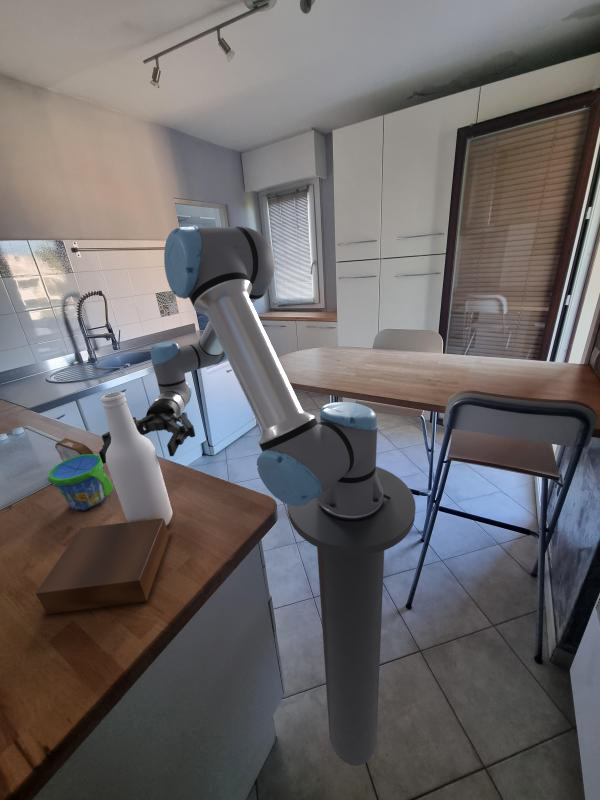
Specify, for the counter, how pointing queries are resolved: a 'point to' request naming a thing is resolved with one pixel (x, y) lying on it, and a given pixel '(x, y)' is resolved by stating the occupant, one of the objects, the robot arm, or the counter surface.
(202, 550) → the counter surface
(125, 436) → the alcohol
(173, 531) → the counter surface
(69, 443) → the tin
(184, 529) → the counter surface
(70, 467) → the snack cup
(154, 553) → the stand
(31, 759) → the counter surface
